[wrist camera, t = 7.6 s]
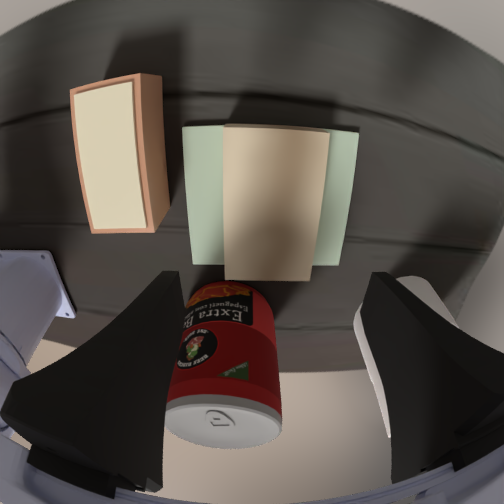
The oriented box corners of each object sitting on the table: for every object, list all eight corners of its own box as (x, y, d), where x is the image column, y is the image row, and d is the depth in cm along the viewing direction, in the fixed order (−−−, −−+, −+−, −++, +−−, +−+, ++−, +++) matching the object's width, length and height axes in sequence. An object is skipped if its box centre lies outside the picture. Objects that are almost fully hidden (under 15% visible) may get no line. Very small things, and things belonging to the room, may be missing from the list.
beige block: (226, 263, 21) (225, 279, 19) (225, 123, 16) (222, 127, 14) (305, 264, 21) (309, 281, 19) (321, 128, 16) (329, 133, 14)
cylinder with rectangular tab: (342, 345, 27) (369, 451, 17) (369, 275, 22) (425, 398, 12) (413, 339, 27) (450, 427, 17) (446, 275, 23) (509, 369, 12)
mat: (194, 261, 21) (193, 264, 21) (183, 126, 16) (182, 127, 16) (337, 262, 22) (338, 265, 21) (356, 132, 16) (359, 133, 16)
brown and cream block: (114, 208, 19) (90, 234, 16) (100, 86, 14) (67, 89, 11) (170, 206, 19) (153, 234, 16) (162, 76, 14) (138, 72, 11)
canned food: (249, 264, 22) (249, 394, 12) (286, 329, 25) (299, 440, 16) (167, 295, 23) (134, 410, 14) (214, 350, 27) (204, 452, 18)
